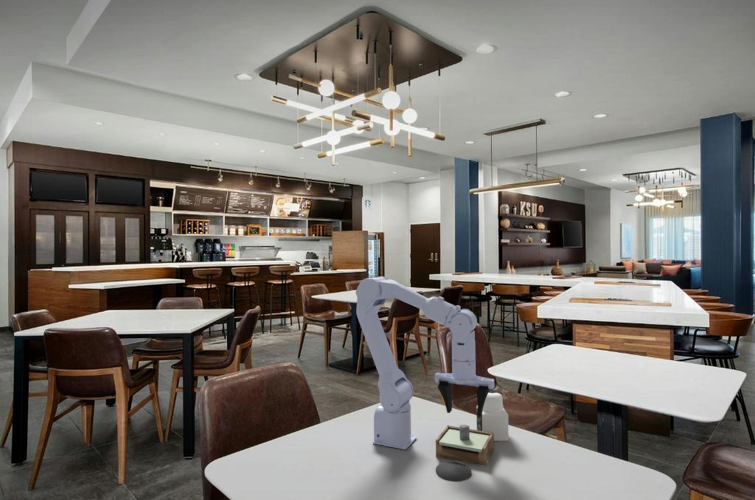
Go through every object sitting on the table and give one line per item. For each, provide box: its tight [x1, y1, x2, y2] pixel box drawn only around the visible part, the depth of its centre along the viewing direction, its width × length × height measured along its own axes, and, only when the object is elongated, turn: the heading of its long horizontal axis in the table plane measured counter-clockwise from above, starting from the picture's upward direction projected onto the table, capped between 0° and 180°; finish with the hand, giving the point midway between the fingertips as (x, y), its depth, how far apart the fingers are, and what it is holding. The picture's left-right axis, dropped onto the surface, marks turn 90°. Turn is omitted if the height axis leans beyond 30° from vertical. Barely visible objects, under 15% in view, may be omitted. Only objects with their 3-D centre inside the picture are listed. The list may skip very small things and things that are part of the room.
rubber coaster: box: [435, 461, 472, 482], centre depth 101 cm, size 8×8×1 cm
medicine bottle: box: [476, 389, 510, 442], centre depth 120 cm, size 7×7×12 cm
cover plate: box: [439, 424, 489, 452], centre depth 110 cm, size 9×10×4 cm
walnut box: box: [435, 424, 495, 467], centre depth 110 cm, size 10×12×4 cm
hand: (464, 413), depth 110 cm, fingers open, 7 cm apart
